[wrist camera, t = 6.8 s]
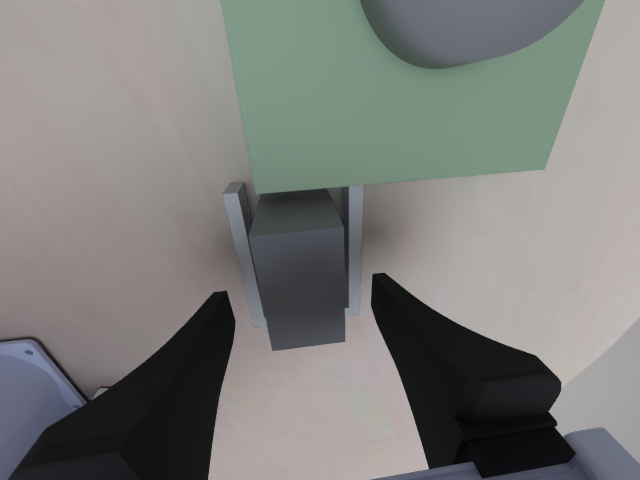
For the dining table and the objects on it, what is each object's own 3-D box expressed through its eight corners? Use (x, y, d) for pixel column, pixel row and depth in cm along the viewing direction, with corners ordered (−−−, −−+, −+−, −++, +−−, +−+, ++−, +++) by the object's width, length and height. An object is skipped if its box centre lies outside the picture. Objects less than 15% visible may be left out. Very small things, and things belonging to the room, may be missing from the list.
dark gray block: (329, 277, 19) (345, 341, 14) (276, 282, 19) (272, 351, 14) (325, 187, 16) (344, 227, 11) (261, 192, 16) (248, 236, 11)
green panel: (475, 282, 21) (530, 335, 16) (257, 307, 20) (247, 372, 15) (618, -212, 10) (933, -512, 5) (138, -225, 9) (-53, -641, 4)
